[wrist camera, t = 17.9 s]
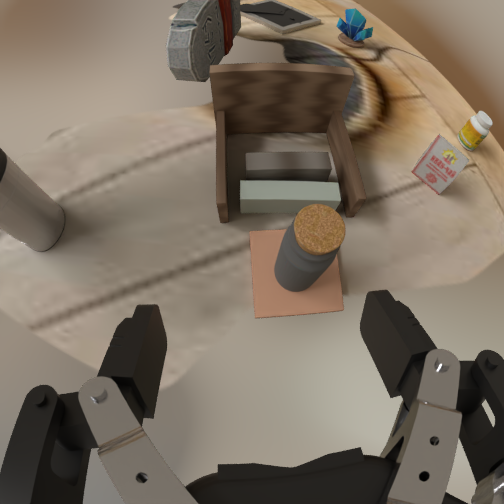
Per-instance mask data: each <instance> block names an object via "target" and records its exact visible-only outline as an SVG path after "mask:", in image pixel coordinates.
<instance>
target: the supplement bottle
mask: <svg viewBox="0 0 504 504" xmlns="http://www.w3.org/2000/svg"><path fill="white" fill-rule="evenodd" d="M491 126H492V120H491V119H490V117H488V115H487V114H486V113H484V112H483V111H479V112H478V114H477V115H476V116H472V117H471V118H470V119H469V120H468V122H467V123H466V124H465V126H464V127H463V128H462V129H461V131H460V132H459V133H458V140H459V142H460V143H461V145H462V146H463V147H464V148H465V149H467V150H469V151H473V150H474V149H475V148H476V147H477V146H478V145H479V144H480V143H481V142H482V140H483V139H484V138H485V137H486V136H487V135H488V133H489V129H488V128H490V127H491Z"/></svg>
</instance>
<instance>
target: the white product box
mask: <svg viewBox="0 0 504 504" xmlns="http://www.w3.org/2000/svg"><path fill="white" fill-rule="evenodd" d="M468 162H469V159H468V158H467V157H465V156H464V155H463V154H462V153H461V152H460V151H459V150H458V149H456V148H455V147H454V146H453V145H452V144H451V143H449V142H448V141H447V140H446V139H445V138H443V137H442V136H441V135H440V134H439V135H438V136H437V137H436V138H435V140H434V141H433V142H432V143H431V144H430V145H429V147H428V148H427V149H426V151H425V152H424V153H423V155H422V156H421V157H420V159H419V160H418V161H417V163H416V165H415V167H414V168H413V170H412V173H413V174H414V175H416V176H417V177H418V178H419V179H421V180H422V181H423V182H424V183H425V184H427V185H428V186H429V187H430V188H431V189H432V190H434V191H435V192H436V193H437V194H438V195H439V194H440V193H441V192H442V191H443V190H444V189H445V188H446V187H447V186H448V185H449V184H450V183H451V182H452V181H453V180H454V179H455V178H456V177H457V176H458V174H459V173H460V172H461V171H462V169H463V168H464V167H465V165H466V164H467V163H468Z"/></svg>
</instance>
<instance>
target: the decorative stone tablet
mask: <svg viewBox="0 0 504 504" xmlns="http://www.w3.org/2000/svg"><path fill="white" fill-rule="evenodd" d="M240 28H241V14H240V0H188V1H187V2H186V3H185V4H184V5H183V6H182V7H181V8H180V9H179V10H178V12H177V14H176V15H175V17H174V18H173V20H172V23H171V26H170V30H169V34H168V39H167V43H166V53H167V61H168V66H169V68H170V70H171V72H172V73H173V75H174V76H175V78H176V80H185V81H199V82H206V80H207V79H208V78H209V77H210V65H218V64H219V63H220V61H221V60H222V58H223V56H225V55H227V54H228V53H229V51H230V49H231V47H232V46H233V39H234V37H235V36H236V34H237V33H238V31H239V30H240Z"/></svg>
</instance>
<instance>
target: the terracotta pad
mask: <svg viewBox="0 0 504 504" xmlns="http://www.w3.org/2000/svg"><path fill="white" fill-rule="evenodd" d="M286 230H287V229H283V230H263V231H250V249H251V265H252V281H253V296H254V312H255V318H269V317H282V316H294V315H306V314H316V313H327V312H336V311H343V310H344V306H343V297H342V289H341V281H340V274H339V267H338V260H337V254H336V257H335V259H334V261H333V262H332V264H331V265H330V266H329V267H328V268H327V270H326V271H325V272H324V273H323V274H322V275H321V276H320V277H319V278H318V279H317V280H316V281H315V282H314V283H313V284H312V285H311V286H310V287H309V288H307V289H306V290H303V291H300V292H292V291H288V290H286V289H284V288H283V287H282V286H281V285H280V284H279V283H278V282H277V280H276V277H275V273H274V267H275V263H276V259H277V255H278V252H279V249H280V245H281V242H282V239H283V236H284V234H285V232H286Z"/></svg>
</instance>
